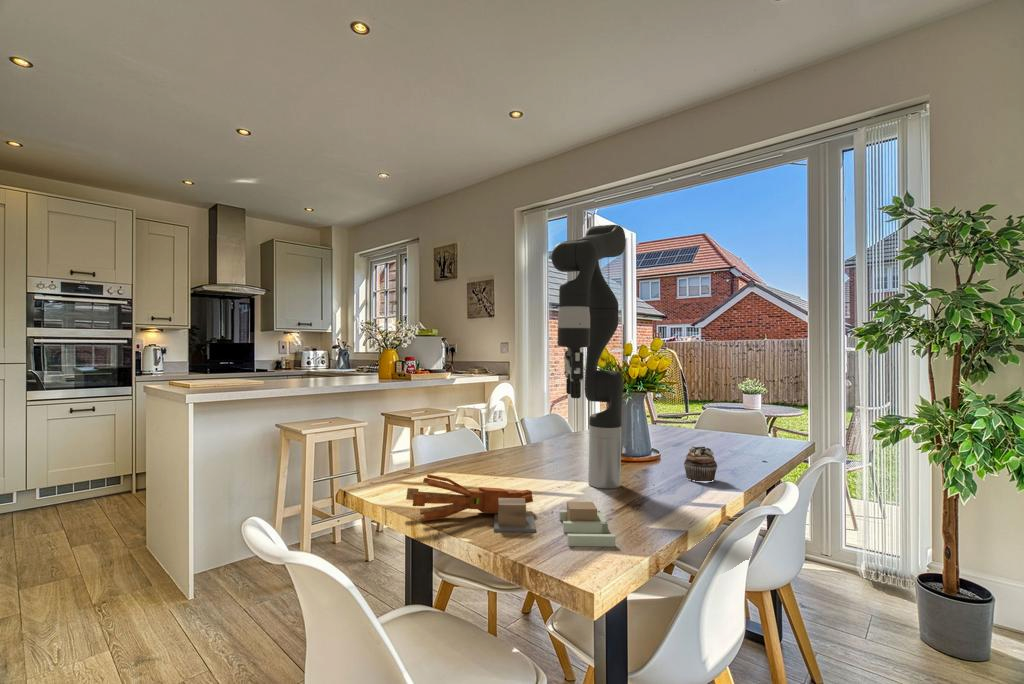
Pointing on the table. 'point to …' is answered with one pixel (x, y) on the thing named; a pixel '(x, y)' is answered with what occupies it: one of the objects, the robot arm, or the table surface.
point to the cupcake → (700, 464)
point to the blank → (511, 512)
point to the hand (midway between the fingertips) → (573, 395)
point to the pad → (528, 528)
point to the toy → (460, 498)
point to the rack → (585, 525)
